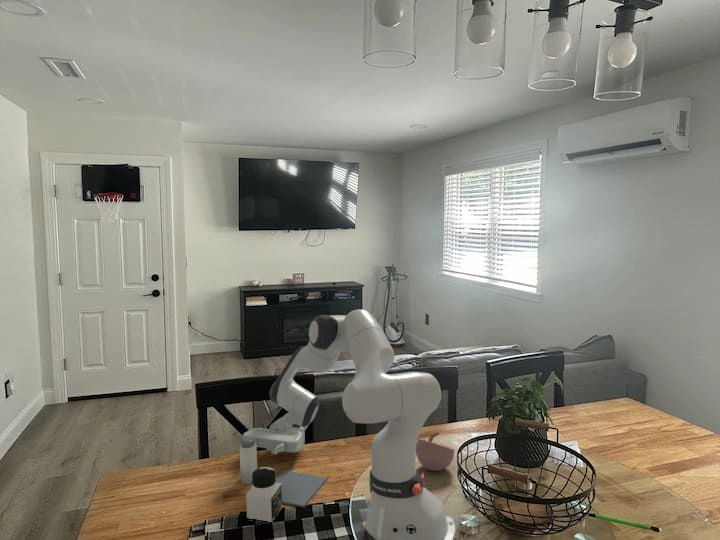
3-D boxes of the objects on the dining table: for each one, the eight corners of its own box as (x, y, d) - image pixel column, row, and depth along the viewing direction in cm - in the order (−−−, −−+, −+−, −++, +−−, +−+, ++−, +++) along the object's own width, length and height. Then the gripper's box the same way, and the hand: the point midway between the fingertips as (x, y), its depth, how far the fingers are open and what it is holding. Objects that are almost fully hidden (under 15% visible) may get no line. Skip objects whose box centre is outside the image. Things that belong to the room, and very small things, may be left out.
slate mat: (327, 479, 145) (327, 477, 145) (303, 507, 130) (303, 505, 130) (283, 471, 150) (283, 469, 150) (256, 497, 135) (256, 495, 135)
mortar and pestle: (461, 467, 152) (461, 432, 151) (442, 482, 142) (442, 445, 142) (428, 456, 159) (428, 423, 158) (408, 470, 150) (408, 435, 149)
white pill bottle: (260, 477, 147) (259, 437, 146) (251, 485, 142) (250, 444, 141) (246, 474, 148) (245, 435, 148) (237, 482, 144) (235, 442, 143)
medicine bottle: (272, 523, 123) (271, 478, 122) (246, 520, 125) (245, 475, 124) (282, 507, 130) (281, 465, 129) (257, 505, 132) (256, 463, 131)
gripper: (255, 420, 167) (231, 435, 154) (308, 427, 160) (288, 444, 147) (256, 437, 167) (232, 454, 154) (308, 445, 160) (288, 464, 147)
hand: (260, 449), depth 151 cm, fingers open, 8 cm apart
